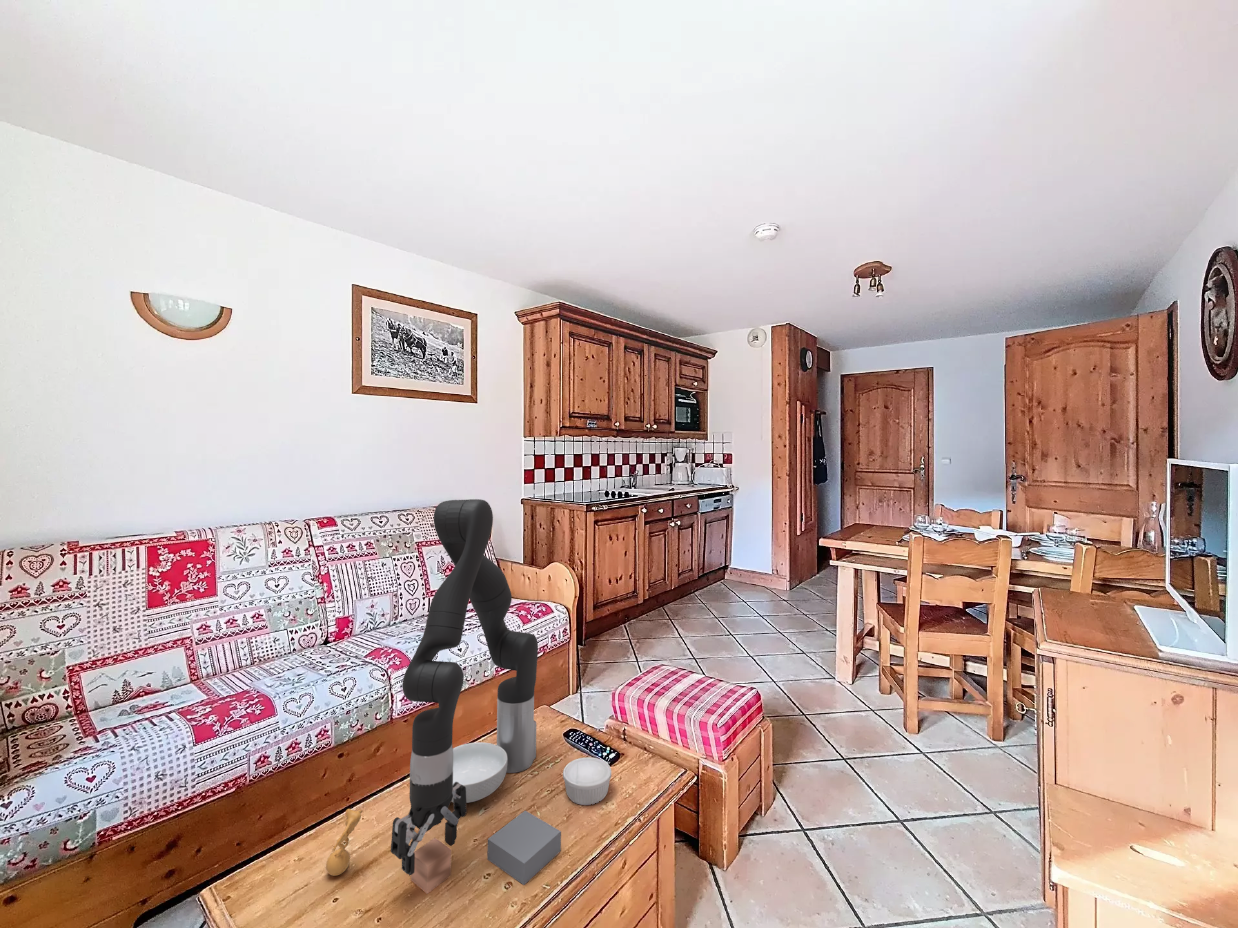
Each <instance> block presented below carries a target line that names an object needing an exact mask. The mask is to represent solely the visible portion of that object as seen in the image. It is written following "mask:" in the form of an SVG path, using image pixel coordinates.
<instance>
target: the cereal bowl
mask: <svg viewBox="0 0 1238 928" xmlns="http://www.w3.org/2000/svg"><path fill="white" fill-rule="evenodd" d="M507 760H508V759H507V754H506V752H505V751H504V749H502V748H501V747H499V746H497V744H495V743H490V742H484V741H483V742H481V741H480V742H479V741H478V742H477V741H476V742H469V743H465V744H461V745H458V746H455V747H453V784H454V783H455V782H458V783H460V784H462V785H463V786H465V787H466V804H469V803H473V802H478V801H480V800H482V799H484V798H486V797H488V796H490V795H491V794H493V793H494V792H495V791H496V790H497V789H498V788H500V786H501V784H502V783H503V781H504V779H505V777H506V775H507V772H506V771H507ZM451 803H453V798H452V801H451Z"/></svg>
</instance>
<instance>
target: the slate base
mask: <svg viewBox="0 0 1238 928" xmlns="http://www.w3.org/2000/svg"><path fill="white" fill-rule="evenodd" d="M561 845H562V831H561V830H559V829H558V828H556V827H554V826H553V825H551V824H549V823H548V822H546V821H544V820H543V819H540V818H539V817H537V816H536V815H534V814H532V813H531V812H529V811H527V810H524V811H522V812H521V813H520V814H518V815H517V816H516V817H515V818H514V819H512V820H511V821H510V822H508V823H506V824H505V825H504V826H503V827H501V828H500V829H499V830H498V831H496V832H495V833H493V834H492V835H491V836H490V837H488V838H487V854H486V855H487V858H486V859H487V861H489V862H490V863H492V864H493V865H495V866H496V867H497V868H499V869H500V870H502V871H503V872H504V873H506V874H507V875H509V876H510V877H512V878H513V879H515V881H518V882H519V883H520V884H522V885H523V886H525V885H526V884H527V883H528V882H529V881H530V880H531V879H533V877H534V876H536V874H538V873H539V872H540V871H541V870H542V869H544V867H545V866H546V865H547V864H549V863H550V862H551V861H552V860H553V859H554V858H555V857H556V856H557V855H558V854H559V853H560V852H561V851H562V850H561V849H562V848H561Z"/></svg>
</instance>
